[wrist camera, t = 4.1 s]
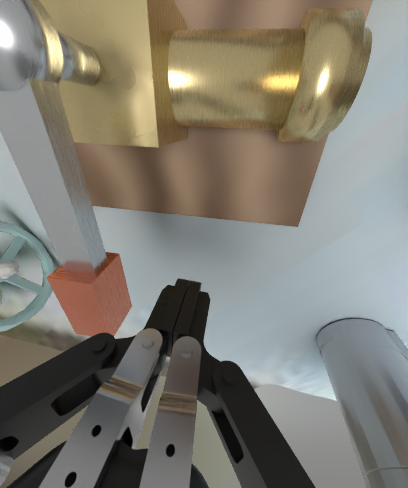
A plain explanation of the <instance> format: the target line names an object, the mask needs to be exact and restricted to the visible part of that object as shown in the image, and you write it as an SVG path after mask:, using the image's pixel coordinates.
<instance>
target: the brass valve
mask: <svg viewBox="0 0 408 488" xmlns="http://www.w3.org/2000/svg"><path fill="white" fill-rule="evenodd" d="M39 1H40V2H41V3H42V5H43V6H44V8H45V9H46V11H47V12H48V14H49V16H50V18H51V19H52V22H53V24H54V26H55V28H56V31H57V33H58V36H59V40H60V43H61V48H62V53H63V73H62V78H61V81H60V83H59V85H58V88H59V92H60V95H61V99H62V102H63V106H64V109H65V113H66V116H67V120H68V123H69V127H70V130H71V134H72V137H73V141H74V142H78V143H94V144H110V145H126V146H143V147H162V146H165V145H168V144H171V143H175V142H178V141H181V140H184V139H187V126H198V127H220V128H241V129H262V130H276V139H277V141H280V142H299V143H316V142H318V141H319V140H320V139H321V138H322V137H323V136H324V135H325V133H329V132H331V131H333V130H334V129H335V128H336V127H337V126H338V125H339V124H340V123H341V122H342V120H343V119H344V117H345V116H346V114H347V112H348V111H349V109H350V107H351V105H352V104H353V102H354V99H355V97H356V95H357V93H358V91H359V88H360V86H361V83H362V81H363V78H364V75H365V72H366V69H367V65H368V62H369V58H370V53H371V46H372V33H371V30H370V29H369V28H367V27H364V26H365V17H364V12H363V9H362V8H361V7H342V8H308V9H307V10H306V12H305V13H304V15H303V17H302V20H301V22H300V25H299V27H298V28H273V29H194V30H186V21H185V19H184V18H183V16H182V14H181V12H180V10H179V9H178V7H177V5H176V3H175V1H174V0H39Z"/></svg>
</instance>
